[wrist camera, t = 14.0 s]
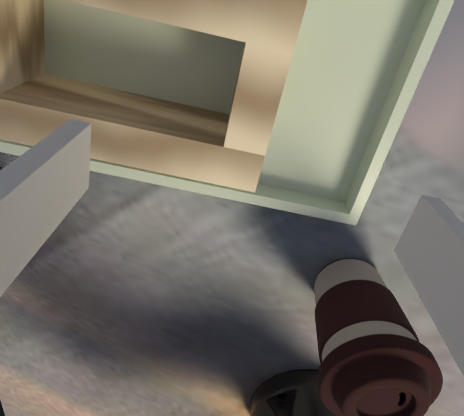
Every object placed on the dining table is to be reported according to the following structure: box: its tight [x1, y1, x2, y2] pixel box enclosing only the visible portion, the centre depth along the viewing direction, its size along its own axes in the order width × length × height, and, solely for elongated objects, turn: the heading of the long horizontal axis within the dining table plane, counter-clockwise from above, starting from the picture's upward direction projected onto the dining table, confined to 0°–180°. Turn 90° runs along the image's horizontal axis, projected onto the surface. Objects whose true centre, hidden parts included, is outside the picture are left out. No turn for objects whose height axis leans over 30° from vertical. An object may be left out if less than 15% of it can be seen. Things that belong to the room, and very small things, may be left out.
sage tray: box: [0, 0, 454, 226], centre depth 32 cm, size 21×36×3 cm, turn 78°
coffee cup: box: [314, 259, 443, 416], centre depth 38 cm, size 10×10×15 cm
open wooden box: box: [0, 0, 307, 192], centre depth 29 cm, size 13×22×8 cm, turn 78°
